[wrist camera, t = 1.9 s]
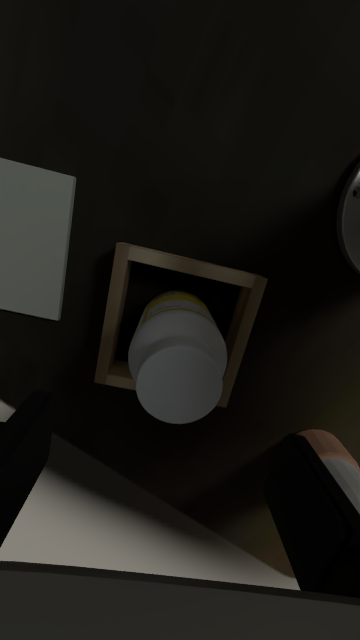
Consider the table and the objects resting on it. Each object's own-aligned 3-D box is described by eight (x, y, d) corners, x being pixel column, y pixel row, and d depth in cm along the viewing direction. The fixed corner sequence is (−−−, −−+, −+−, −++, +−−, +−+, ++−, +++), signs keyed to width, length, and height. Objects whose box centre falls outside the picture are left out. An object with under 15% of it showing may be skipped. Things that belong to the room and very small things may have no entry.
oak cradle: (256, 274, 24) (267, 279, 21) (220, 389, 28) (226, 407, 25) (123, 242, 23) (116, 242, 20) (102, 366, 26) (94, 382, 24)
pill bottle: (170, 366, 27) (168, 458, 16) (127, 316, 25) (91, 379, 14) (224, 328, 26) (263, 396, 15) (182, 273, 24) (191, 304, 13)
